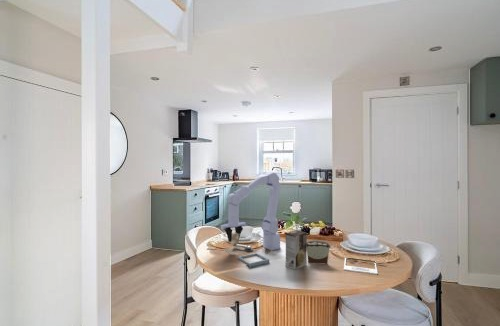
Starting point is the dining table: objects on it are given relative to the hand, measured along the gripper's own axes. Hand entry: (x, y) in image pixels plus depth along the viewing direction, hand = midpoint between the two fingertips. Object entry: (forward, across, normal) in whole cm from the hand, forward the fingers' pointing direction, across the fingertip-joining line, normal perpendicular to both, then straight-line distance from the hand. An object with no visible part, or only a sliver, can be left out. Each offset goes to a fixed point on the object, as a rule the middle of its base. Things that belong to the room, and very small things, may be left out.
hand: (233, 240), depth 156 cm
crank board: (+7, -5, -2) cm, 9 cm away
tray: (+7, -3, +16) cm, 17 cm away
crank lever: (+5, -7, -2) cm, 9 cm away
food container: (+8, -31, +32) cm, 45 cm away
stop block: (+1, 0, 0) cm, 1 cm away
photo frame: (+8, -45, +47) cm, 65 cm away
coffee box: (+8, -18, +31) cm, 36 cm away
